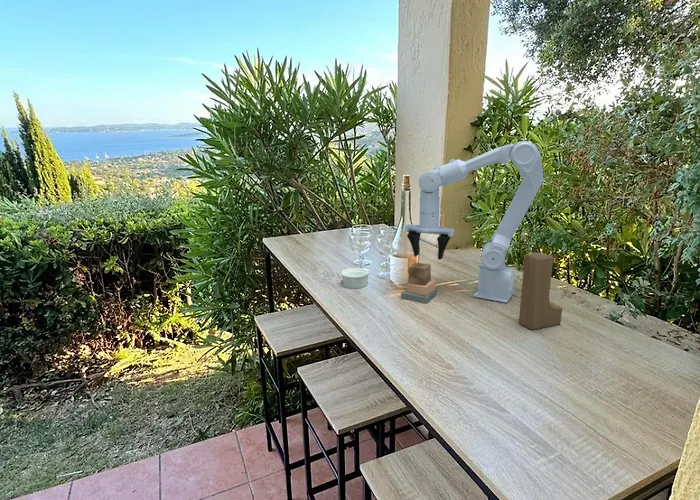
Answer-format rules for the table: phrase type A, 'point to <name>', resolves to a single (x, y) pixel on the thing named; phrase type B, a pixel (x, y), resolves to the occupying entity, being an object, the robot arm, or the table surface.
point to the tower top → (421, 288)
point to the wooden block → (538, 293)
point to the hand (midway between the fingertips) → (428, 256)
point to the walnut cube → (419, 273)
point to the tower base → (418, 296)
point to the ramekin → (355, 277)
